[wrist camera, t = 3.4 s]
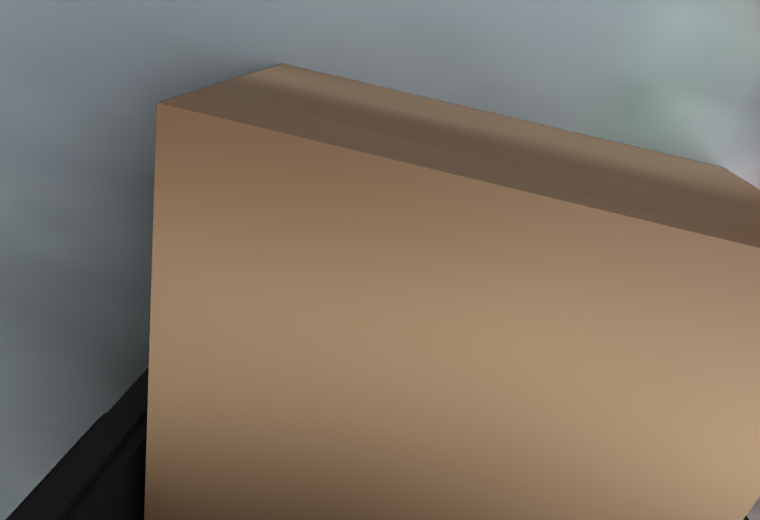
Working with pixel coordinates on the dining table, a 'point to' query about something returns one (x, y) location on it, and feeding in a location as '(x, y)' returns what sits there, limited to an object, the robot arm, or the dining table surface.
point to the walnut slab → (441, 315)
